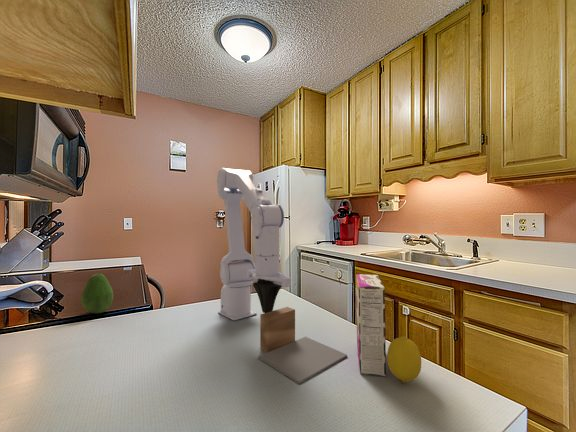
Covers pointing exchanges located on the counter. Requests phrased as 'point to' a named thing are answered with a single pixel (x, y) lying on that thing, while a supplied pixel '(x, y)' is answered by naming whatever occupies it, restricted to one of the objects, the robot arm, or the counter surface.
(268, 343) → the wooden block
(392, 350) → the lemon
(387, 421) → the counter surface
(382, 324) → the candy bar box
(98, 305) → the avocado
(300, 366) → the mat
